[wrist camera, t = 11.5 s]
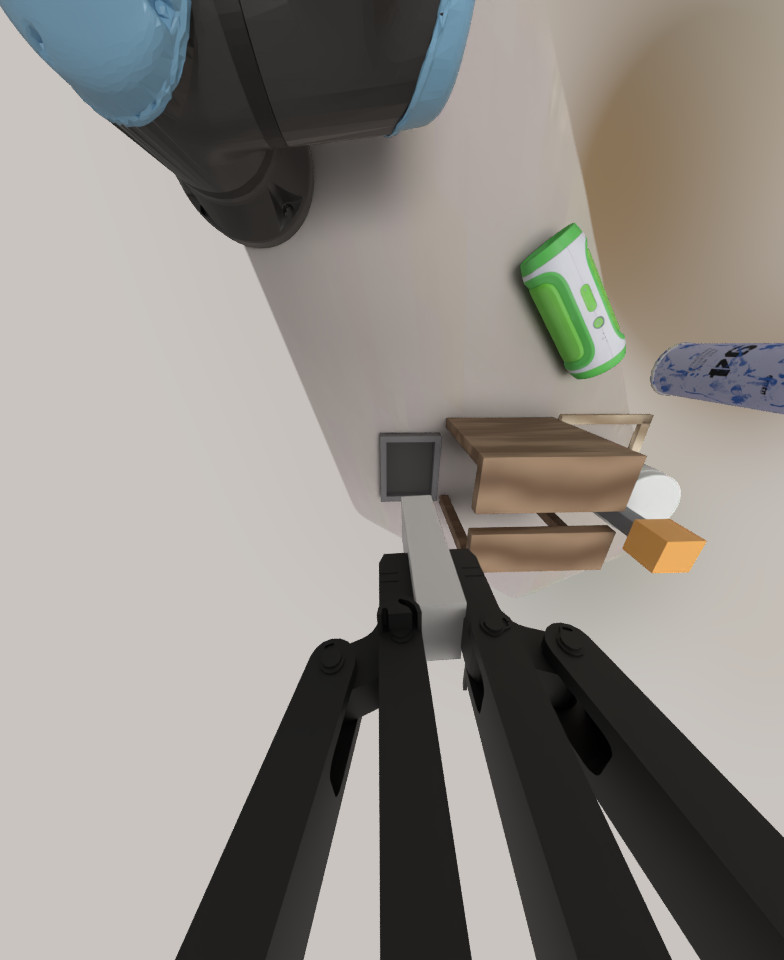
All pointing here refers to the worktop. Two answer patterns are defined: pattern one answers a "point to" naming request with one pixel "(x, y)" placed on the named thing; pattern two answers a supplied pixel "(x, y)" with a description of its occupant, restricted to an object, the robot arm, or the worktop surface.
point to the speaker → (574, 304)
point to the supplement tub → (653, 495)
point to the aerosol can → (724, 374)
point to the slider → (656, 541)
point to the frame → (639, 419)
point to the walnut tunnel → (541, 491)
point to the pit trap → (409, 465)
